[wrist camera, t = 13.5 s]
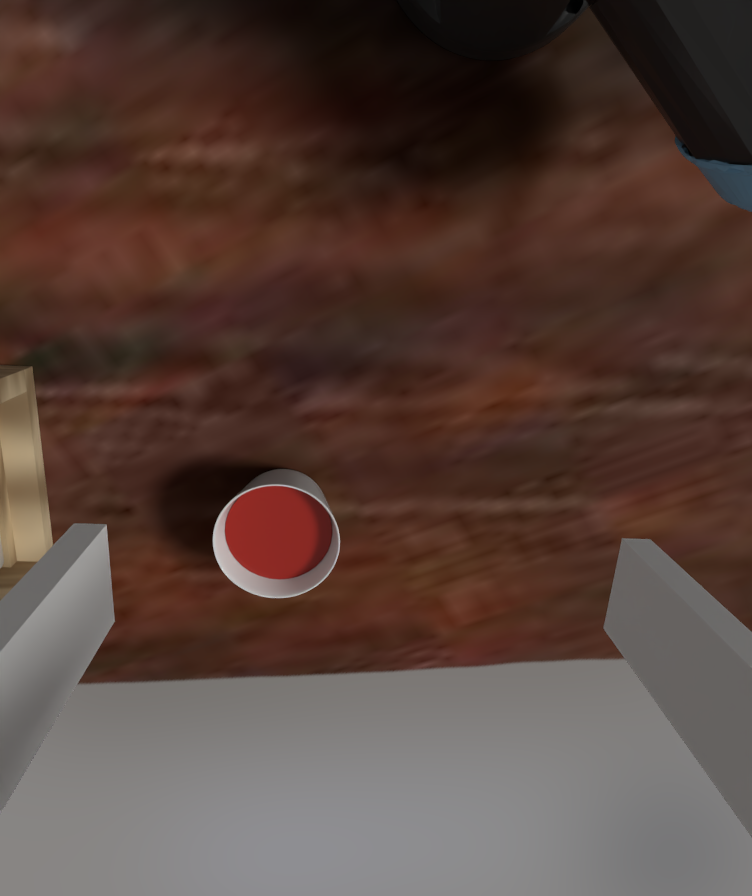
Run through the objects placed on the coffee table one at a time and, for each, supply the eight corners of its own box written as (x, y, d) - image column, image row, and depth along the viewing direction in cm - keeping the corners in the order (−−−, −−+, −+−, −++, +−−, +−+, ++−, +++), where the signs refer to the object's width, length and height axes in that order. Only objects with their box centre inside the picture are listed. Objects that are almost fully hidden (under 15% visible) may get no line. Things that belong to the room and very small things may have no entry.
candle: (347, 547, 50) (349, 587, 44) (241, 564, 50) (228, 607, 44) (328, 446, 48) (327, 474, 42) (216, 464, 47) (198, 496, 41)
